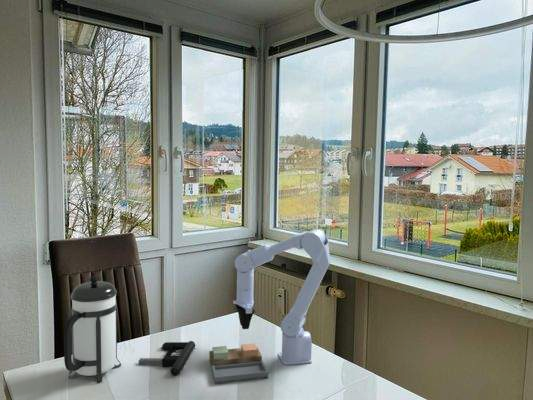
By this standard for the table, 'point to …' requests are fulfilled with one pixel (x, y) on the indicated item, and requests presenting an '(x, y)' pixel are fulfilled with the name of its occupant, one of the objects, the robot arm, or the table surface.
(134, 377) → the table surface
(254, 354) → the terracotta block
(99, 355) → the coffee press
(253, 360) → the walnut ledge
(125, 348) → the table surface
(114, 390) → the table surface
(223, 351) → the sage tile
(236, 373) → the charcoal tray
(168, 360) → the door handle
